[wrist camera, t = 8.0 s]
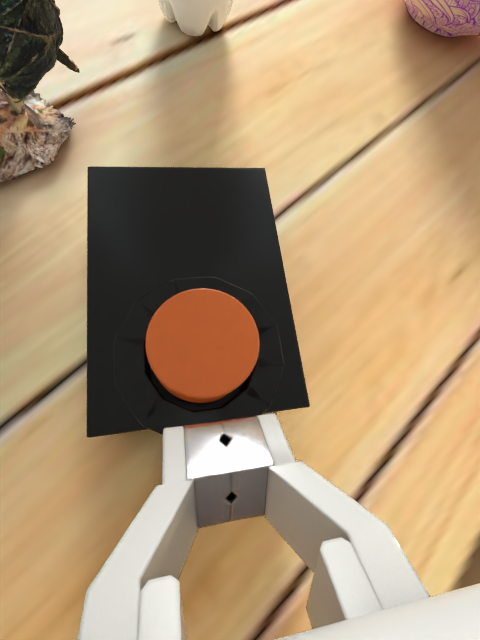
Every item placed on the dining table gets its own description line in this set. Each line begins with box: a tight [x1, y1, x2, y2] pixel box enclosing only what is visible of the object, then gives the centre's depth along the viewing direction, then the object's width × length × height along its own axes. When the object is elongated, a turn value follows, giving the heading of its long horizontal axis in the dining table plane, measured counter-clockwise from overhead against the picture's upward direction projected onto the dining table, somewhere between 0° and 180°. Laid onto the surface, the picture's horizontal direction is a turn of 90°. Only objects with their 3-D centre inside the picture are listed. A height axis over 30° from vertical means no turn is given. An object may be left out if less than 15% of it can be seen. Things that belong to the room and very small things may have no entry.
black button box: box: [87, 167, 310, 437], centre depth 18 cm, size 15×10×8 cm
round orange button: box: [145, 288, 260, 403], centre depth 12 cm, size 4×4×2 cm
